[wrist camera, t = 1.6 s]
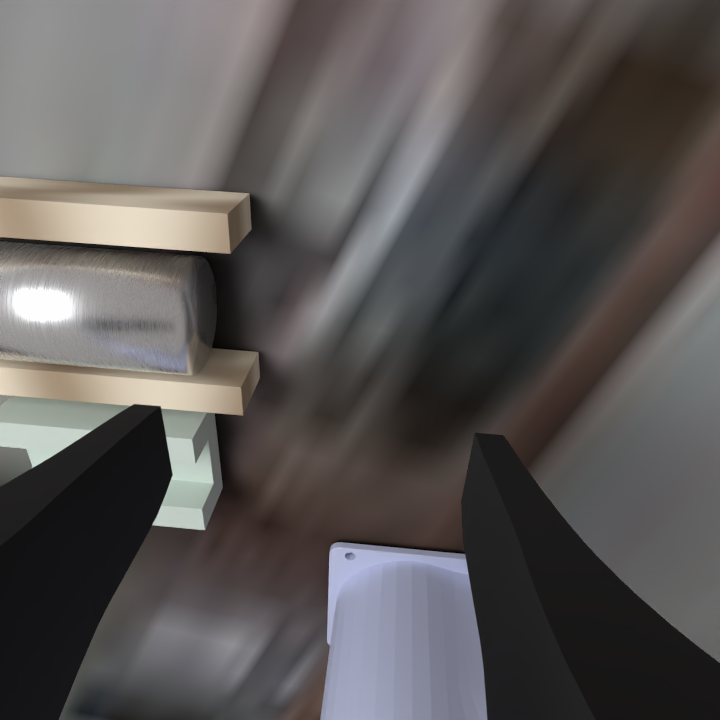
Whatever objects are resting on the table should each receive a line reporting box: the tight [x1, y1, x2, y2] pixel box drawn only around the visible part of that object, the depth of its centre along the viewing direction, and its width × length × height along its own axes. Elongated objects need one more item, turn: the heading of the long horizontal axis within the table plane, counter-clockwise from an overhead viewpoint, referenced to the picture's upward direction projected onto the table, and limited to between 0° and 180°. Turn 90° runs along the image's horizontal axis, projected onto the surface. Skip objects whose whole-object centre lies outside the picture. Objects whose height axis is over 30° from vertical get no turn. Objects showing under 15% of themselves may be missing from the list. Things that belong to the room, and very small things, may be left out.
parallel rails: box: [0, 177, 260, 415], centre depth 19 cm, size 12×7×2 cm, turn 88°
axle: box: [0, 241, 217, 376], centre depth 18 cm, size 9×4×4 cm, turn 88°
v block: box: [0, 396, 223, 530], centre depth 22 cm, size 8×5×2 cm, turn 88°
